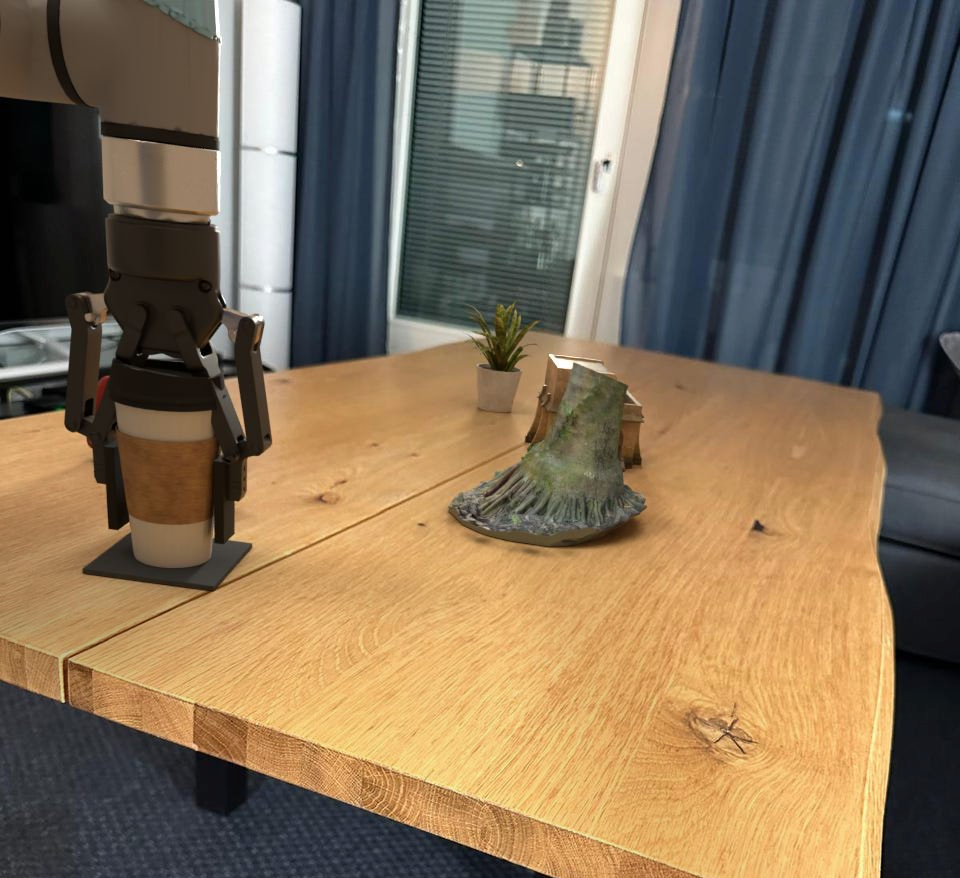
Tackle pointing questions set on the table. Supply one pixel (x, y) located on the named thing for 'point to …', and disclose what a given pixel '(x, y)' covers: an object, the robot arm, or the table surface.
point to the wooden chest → (555, 392)
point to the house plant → (499, 361)
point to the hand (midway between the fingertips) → (172, 531)
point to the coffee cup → (167, 459)
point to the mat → (202, 576)
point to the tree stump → (561, 475)
